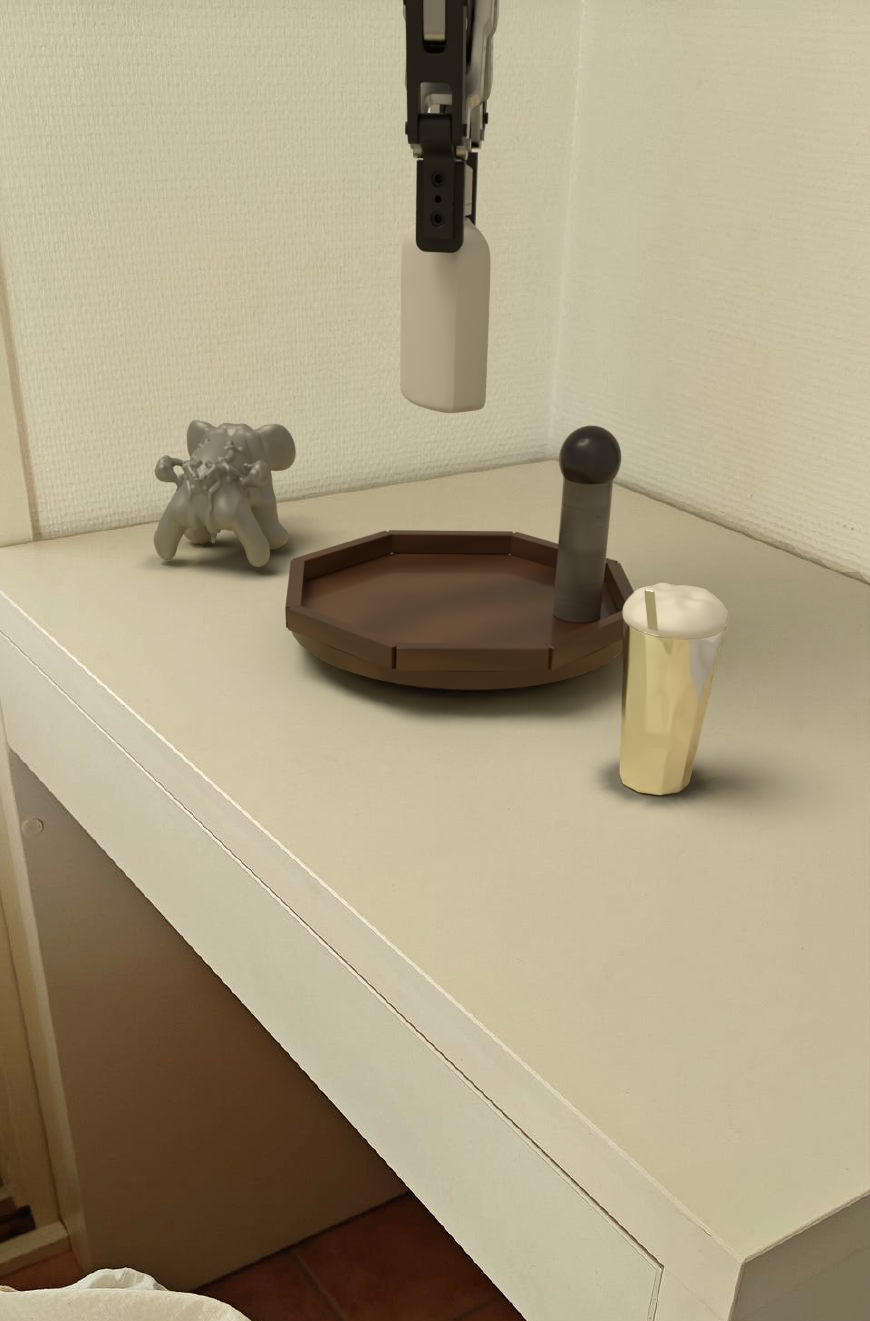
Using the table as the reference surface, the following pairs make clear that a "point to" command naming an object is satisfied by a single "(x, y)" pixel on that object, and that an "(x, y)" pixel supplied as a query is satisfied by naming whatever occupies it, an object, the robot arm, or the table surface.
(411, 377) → the eye dropper bottle
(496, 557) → the tray
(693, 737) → the milkshake
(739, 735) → the table surface
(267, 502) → the gray elephant figurine
